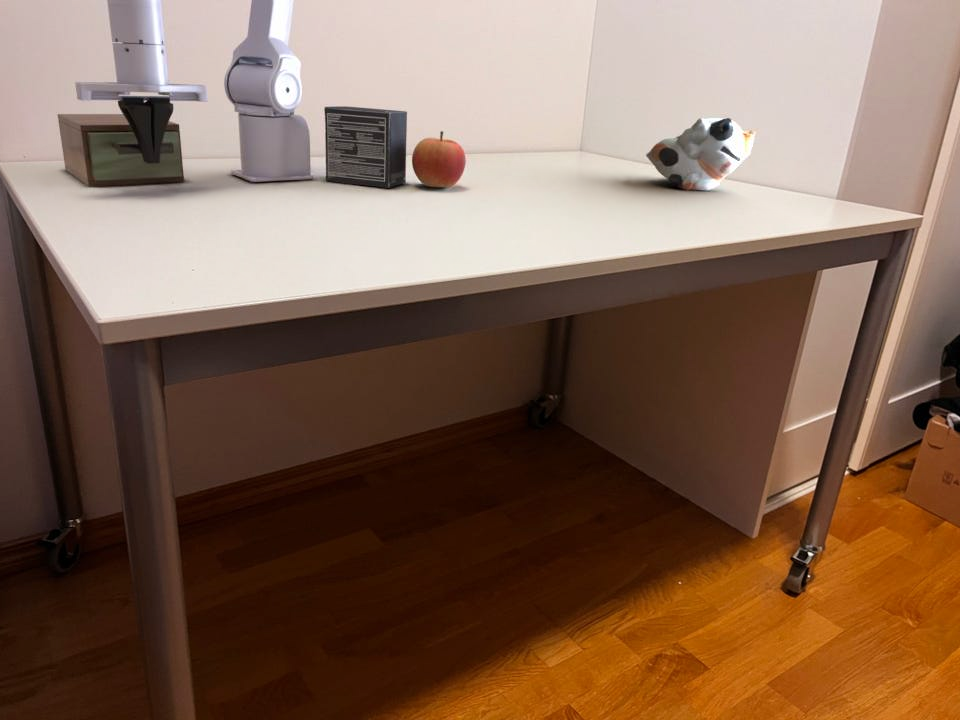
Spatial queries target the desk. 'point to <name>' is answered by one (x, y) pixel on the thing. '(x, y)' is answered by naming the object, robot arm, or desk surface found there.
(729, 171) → the lucky cat figurine
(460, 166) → the apple
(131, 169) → the drawer
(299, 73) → the robot arm
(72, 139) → the cabinet
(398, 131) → the small box
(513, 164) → the desk surface
